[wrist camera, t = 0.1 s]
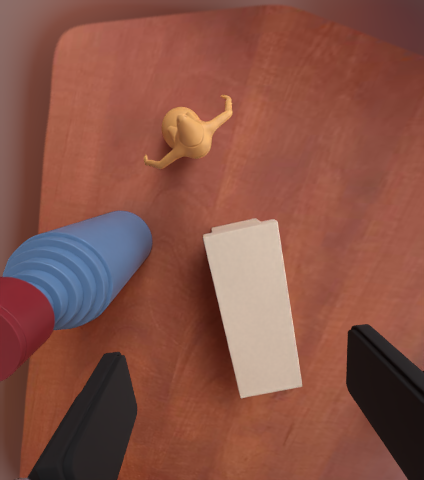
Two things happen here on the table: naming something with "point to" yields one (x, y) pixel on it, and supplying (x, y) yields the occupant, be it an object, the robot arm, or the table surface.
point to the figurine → (188, 134)
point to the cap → (22, 323)
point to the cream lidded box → (254, 305)
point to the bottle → (83, 264)
